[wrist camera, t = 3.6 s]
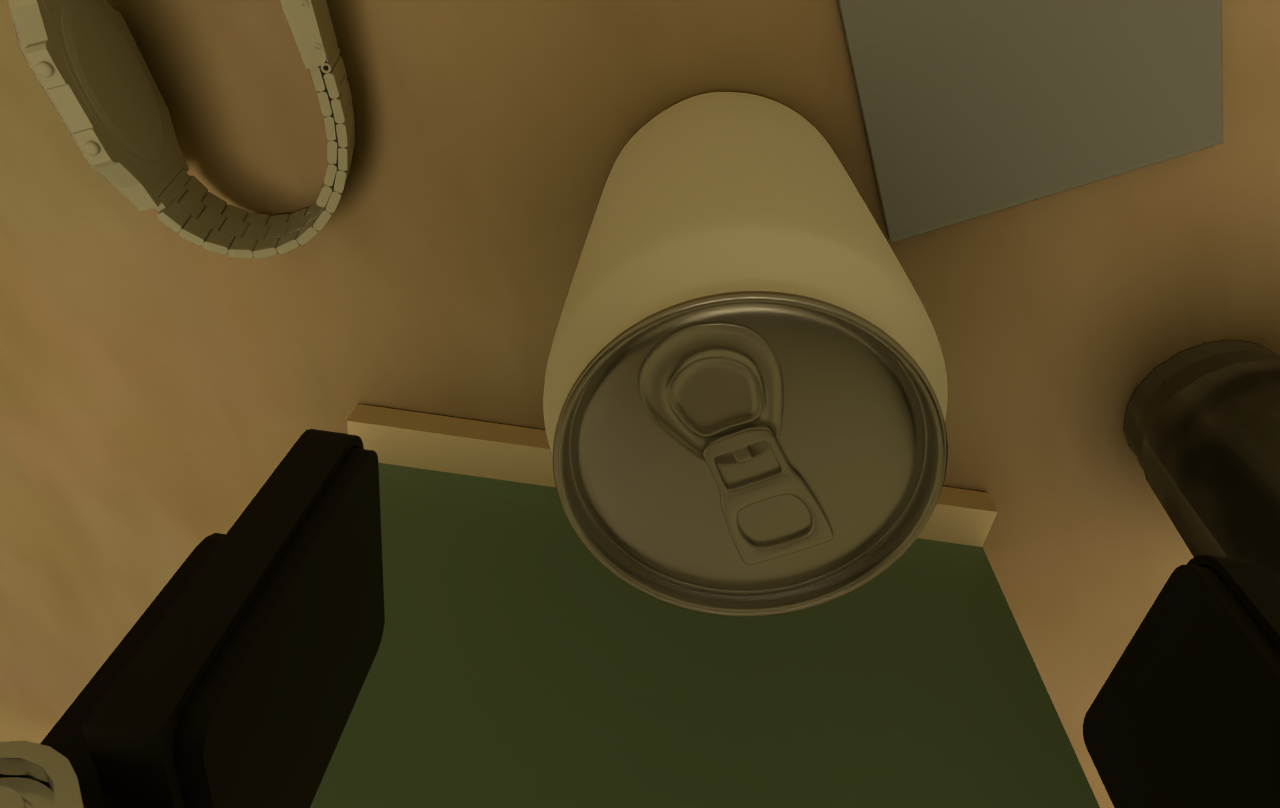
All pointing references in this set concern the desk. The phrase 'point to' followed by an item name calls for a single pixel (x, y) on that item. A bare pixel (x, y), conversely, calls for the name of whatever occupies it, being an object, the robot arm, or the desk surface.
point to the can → (742, 371)
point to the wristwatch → (142, 127)
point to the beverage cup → (1214, 448)
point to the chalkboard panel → (671, 664)
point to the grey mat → (1026, 97)
